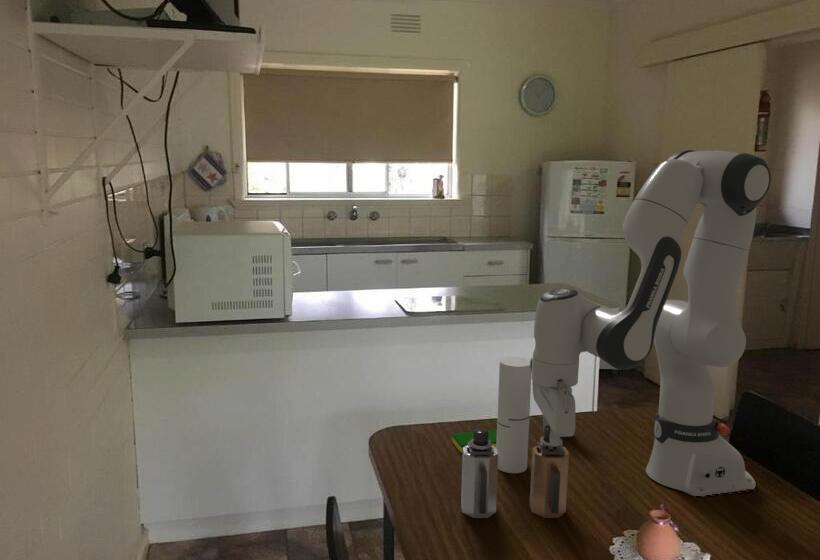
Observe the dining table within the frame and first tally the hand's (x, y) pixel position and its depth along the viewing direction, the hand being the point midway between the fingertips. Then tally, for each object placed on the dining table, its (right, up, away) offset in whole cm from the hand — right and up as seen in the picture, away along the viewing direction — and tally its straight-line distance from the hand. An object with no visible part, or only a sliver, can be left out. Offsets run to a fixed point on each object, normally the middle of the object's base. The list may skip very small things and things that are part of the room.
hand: (551, 439), depth 131 cm
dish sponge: (-10, -10, +33) cm, 36 cm away
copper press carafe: (0, -15, +2) cm, 15 cm away
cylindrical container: (-5, -12, +21) cm, 25 cm away
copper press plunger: (0, -10, +2) cm, 10 cm away
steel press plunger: (-14, -11, +2) cm, 18 cm away
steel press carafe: (-14, -15, +1) cm, 20 cm away
